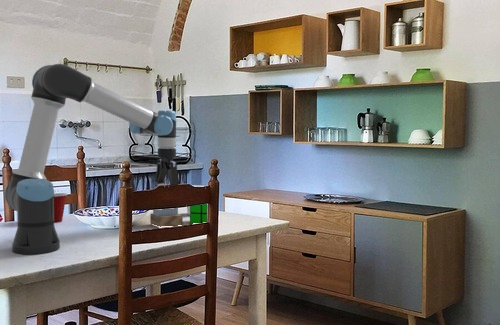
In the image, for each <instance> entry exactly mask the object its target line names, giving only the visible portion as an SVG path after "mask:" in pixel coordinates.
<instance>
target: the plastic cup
mask: <svg viewBox="0 0 500 325" xmlns="http://www.w3.org/2000/svg"><path fill="white" fill-rule="evenodd" d="M67 196H68V193H66V192H65V193H64V192H63V193H62V192H61V193H54V224H57V223H61V222H62V221H63V219H64V218H63V217H64V214H65V213H64V210H65V206H66V205H65V204H66V199H67Z"/></svg>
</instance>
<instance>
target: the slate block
mask: <svg viewBox="0 0 500 325" xmlns="http://www.w3.org/2000/svg"><path fill="white" fill-rule="evenodd" d="M152 213H153V214H154V215H156V216H167V215H178V214H179V207H178V208H174V209H162V210H152Z"/></svg>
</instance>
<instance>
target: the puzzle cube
mask: <svg viewBox="0 0 500 325" xmlns="http://www.w3.org/2000/svg"><path fill="white" fill-rule="evenodd" d="M203 222H207V204H202V205H195V206H190V215H189V225H192V224H193V223H203Z"/></svg>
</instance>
